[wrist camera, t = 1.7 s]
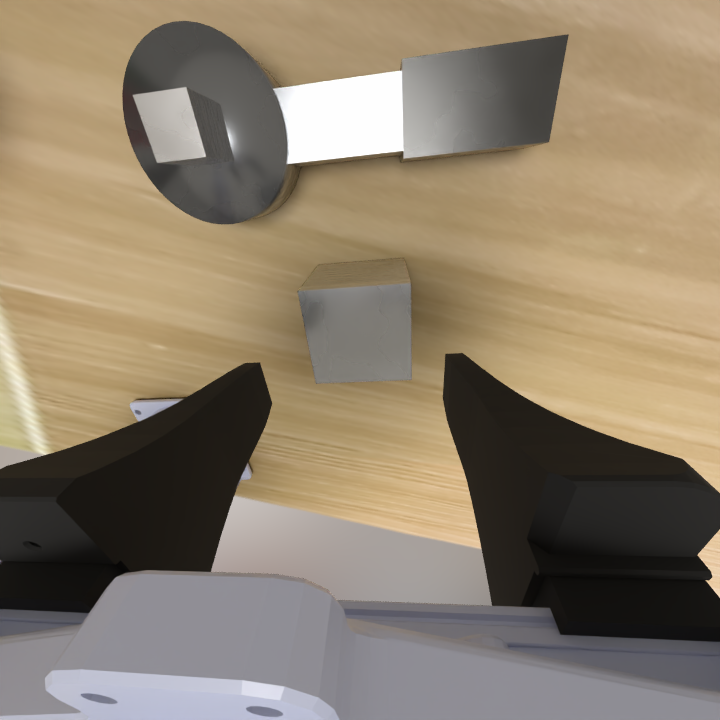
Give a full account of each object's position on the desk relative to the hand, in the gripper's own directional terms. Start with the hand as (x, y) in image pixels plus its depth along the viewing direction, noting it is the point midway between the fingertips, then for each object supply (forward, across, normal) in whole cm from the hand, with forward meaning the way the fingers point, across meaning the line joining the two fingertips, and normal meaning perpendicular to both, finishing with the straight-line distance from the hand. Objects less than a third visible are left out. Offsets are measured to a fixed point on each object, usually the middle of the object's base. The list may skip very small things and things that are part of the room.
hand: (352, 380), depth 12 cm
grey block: (+9, 0, 0) cm, 9 cm away
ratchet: (+9, +1, -9) cm, 13 cm away
